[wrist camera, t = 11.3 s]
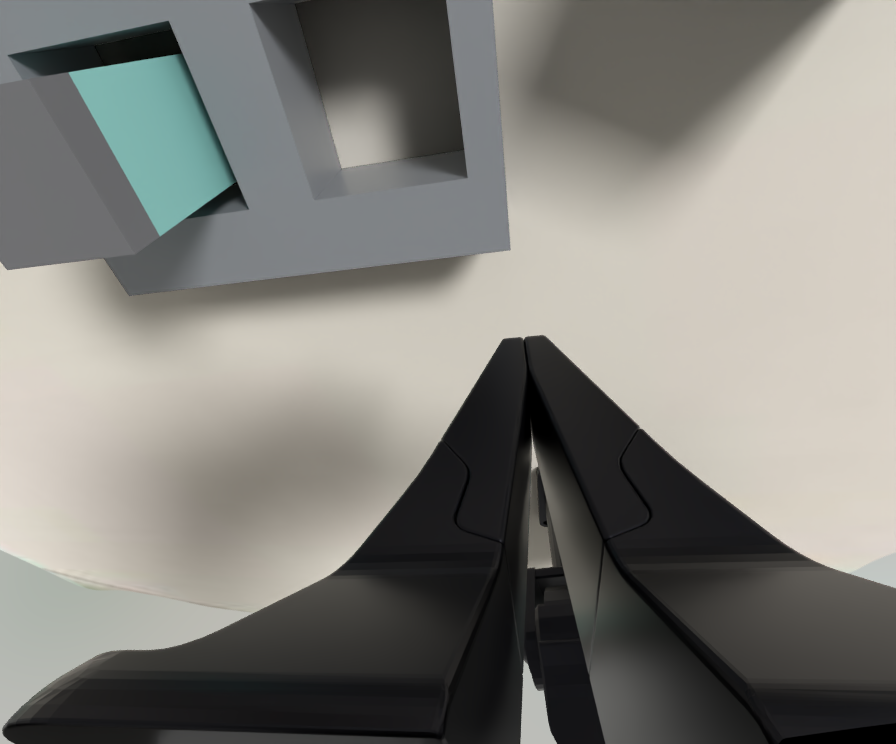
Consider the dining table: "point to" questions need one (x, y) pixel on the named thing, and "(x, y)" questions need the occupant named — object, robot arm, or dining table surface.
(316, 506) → the dining table surface
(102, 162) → the plug
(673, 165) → the dining table surface
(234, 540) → the dining table surface
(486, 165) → the socket plate
